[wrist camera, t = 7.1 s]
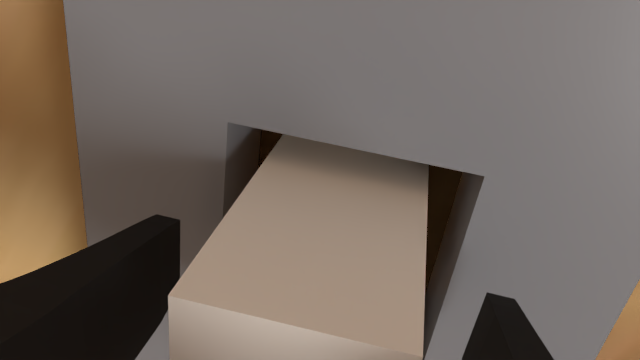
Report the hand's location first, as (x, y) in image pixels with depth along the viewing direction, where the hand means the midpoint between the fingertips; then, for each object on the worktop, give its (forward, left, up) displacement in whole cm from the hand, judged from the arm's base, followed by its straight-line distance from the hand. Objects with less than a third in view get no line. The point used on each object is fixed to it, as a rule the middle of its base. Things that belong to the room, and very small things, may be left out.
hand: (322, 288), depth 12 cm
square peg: (0, 0, -4) cm, 5 cm away
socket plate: (0, 0, -4) cm, 4 cm away
